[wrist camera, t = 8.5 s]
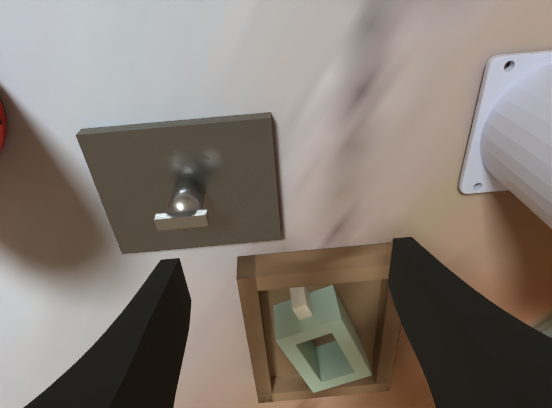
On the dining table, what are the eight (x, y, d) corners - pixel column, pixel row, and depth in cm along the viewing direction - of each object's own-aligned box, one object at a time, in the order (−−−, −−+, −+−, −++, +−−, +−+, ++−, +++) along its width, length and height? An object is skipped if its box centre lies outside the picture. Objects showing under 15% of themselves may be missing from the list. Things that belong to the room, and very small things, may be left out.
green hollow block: (361, 340, 30) (371, 375, 28) (308, 357, 31) (313, 392, 29) (327, 273, 26) (335, 307, 23) (266, 295, 27) (267, 330, 24)
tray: (400, 241, 26) (411, 263, 24) (382, 367, 33) (389, 390, 32) (237, 256, 25) (236, 279, 24) (258, 379, 33) (258, 403, 32)
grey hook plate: (270, 112, 20) (274, 141, 17) (280, 231, 24) (284, 271, 21) (81, 128, 20) (50, 160, 17) (125, 245, 24) (107, 287, 21)
